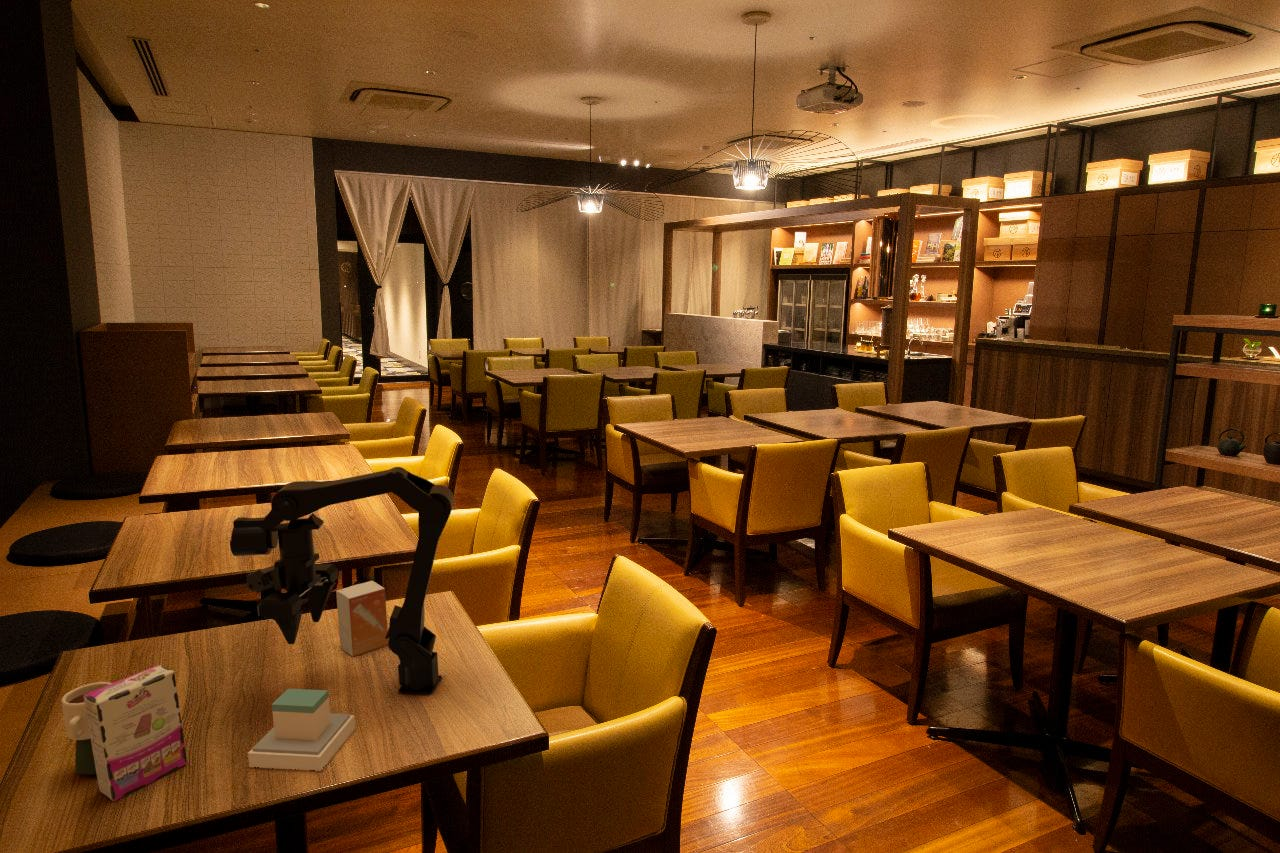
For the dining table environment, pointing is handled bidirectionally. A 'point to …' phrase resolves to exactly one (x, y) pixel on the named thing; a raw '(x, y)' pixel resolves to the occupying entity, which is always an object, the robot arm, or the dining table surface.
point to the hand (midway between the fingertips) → (304, 632)
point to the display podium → (302, 747)
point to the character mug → (80, 726)
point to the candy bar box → (135, 731)
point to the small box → (362, 617)
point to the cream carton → (301, 714)
